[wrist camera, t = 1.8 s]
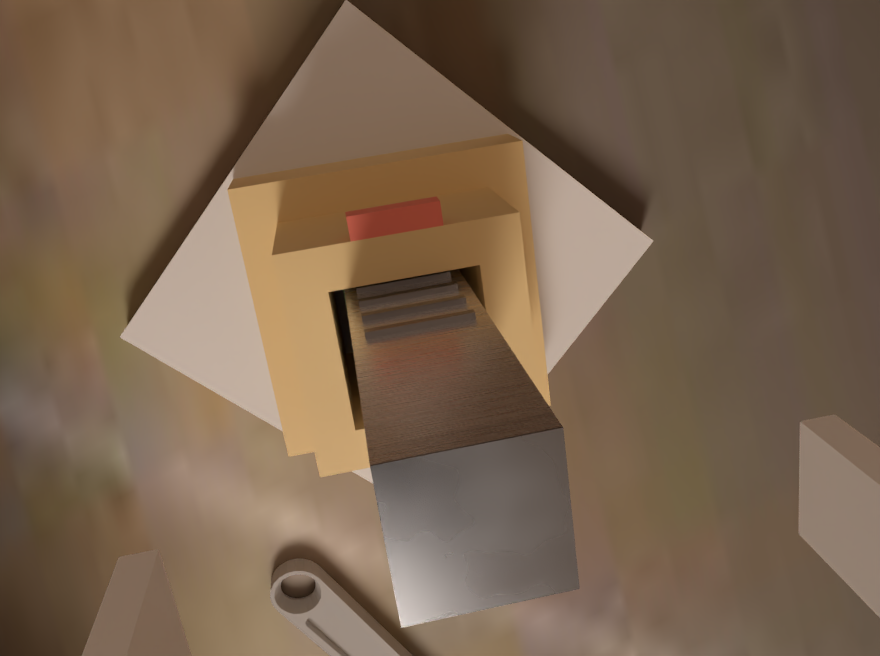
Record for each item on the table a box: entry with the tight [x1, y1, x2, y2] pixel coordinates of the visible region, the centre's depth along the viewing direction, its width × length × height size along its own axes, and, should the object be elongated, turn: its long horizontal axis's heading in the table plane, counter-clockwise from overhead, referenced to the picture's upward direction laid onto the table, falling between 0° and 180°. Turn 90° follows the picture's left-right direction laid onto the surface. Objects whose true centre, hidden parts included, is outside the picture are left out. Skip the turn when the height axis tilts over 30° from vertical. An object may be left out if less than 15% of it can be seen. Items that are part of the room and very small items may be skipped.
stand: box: [120, 0, 653, 483], centre depth 32 cm, size 23×23×9 cm
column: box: [343, 269, 579, 628], centre depth 26 cm, size 4×4×18 cm
